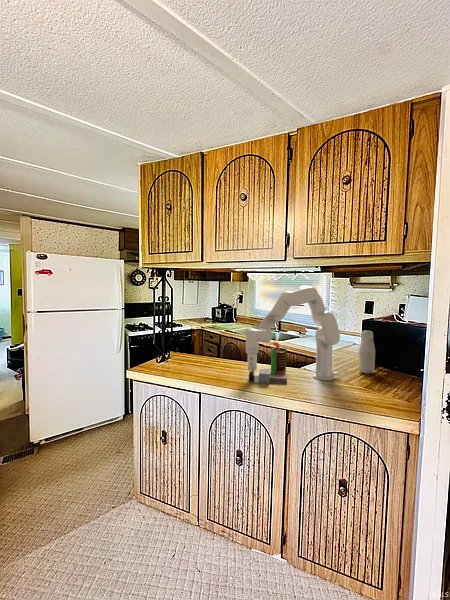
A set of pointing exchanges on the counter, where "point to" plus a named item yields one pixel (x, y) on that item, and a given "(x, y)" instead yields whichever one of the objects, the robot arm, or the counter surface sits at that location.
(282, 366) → the motor
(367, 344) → the light grey bottle
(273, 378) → the plug
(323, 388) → the counter surface
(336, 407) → the counter surface
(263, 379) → the housing
